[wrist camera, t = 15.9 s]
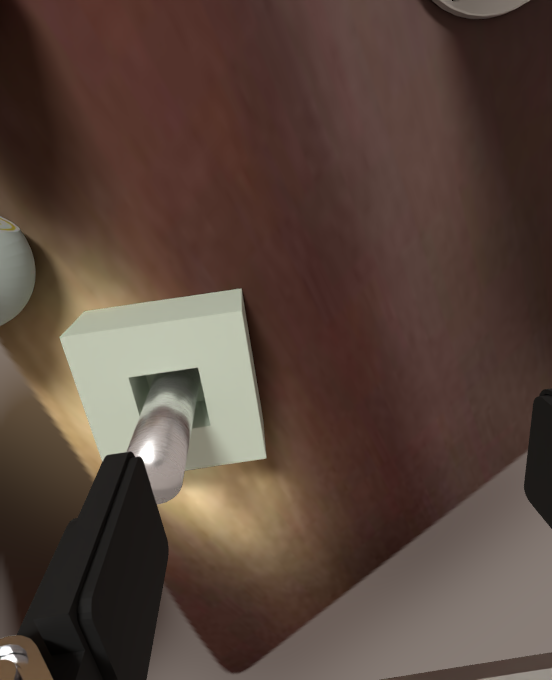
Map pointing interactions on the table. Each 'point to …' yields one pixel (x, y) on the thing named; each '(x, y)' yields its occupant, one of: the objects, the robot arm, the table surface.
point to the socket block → (164, 356)
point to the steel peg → (166, 430)
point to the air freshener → (14, 271)
